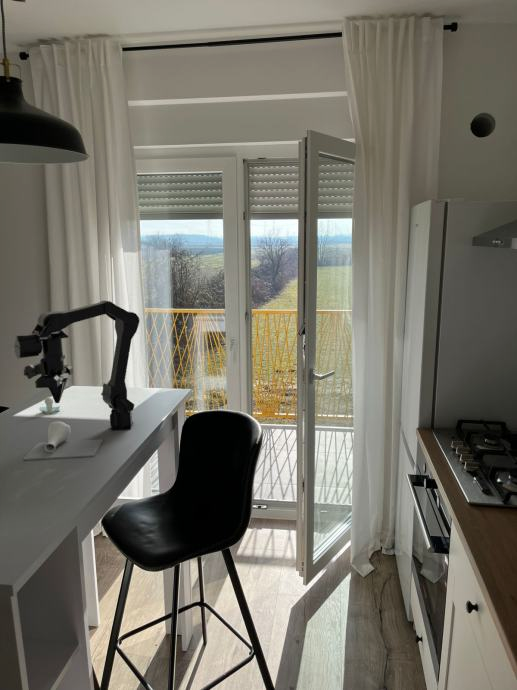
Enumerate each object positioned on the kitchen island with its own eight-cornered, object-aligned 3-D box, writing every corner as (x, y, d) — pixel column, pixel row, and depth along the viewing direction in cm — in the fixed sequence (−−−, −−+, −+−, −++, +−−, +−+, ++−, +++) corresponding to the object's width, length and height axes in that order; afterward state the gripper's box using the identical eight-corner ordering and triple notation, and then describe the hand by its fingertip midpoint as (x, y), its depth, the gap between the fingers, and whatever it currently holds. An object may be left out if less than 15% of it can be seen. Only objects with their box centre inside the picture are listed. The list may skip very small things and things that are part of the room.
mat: (103, 440, 168) (102, 439, 168) (93, 456, 156) (93, 455, 156) (38, 443, 167) (37, 442, 167) (23, 460, 154) (23, 458, 154)
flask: (46, 437, 168) (35, 455, 158) (50, 418, 165) (39, 434, 156) (69, 443, 169) (60, 460, 160) (73, 423, 167) (64, 440, 157)
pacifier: (43, 410, 202) (38, 415, 196) (41, 394, 201) (36, 398, 195) (63, 409, 203) (58, 414, 197) (61, 393, 202) (57, 397, 196)
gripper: (35, 348, 171) (40, 395, 174) (14, 361, 153) (20, 413, 156) (71, 347, 172) (75, 394, 175) (54, 359, 154) (59, 411, 157)
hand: (57, 402), depth 166 cm, fingers closed
